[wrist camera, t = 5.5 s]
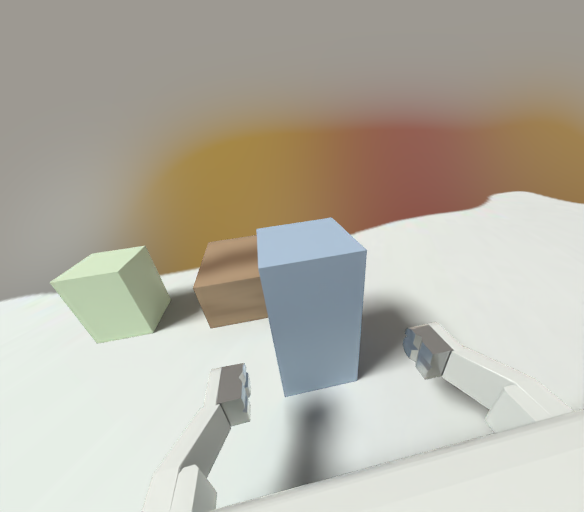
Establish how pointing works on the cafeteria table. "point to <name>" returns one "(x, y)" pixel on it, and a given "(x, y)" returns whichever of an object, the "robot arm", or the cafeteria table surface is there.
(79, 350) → the cafeteria table surface
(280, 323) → the pillar
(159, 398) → the cafeteria table surface
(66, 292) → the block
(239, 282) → the walnut block
